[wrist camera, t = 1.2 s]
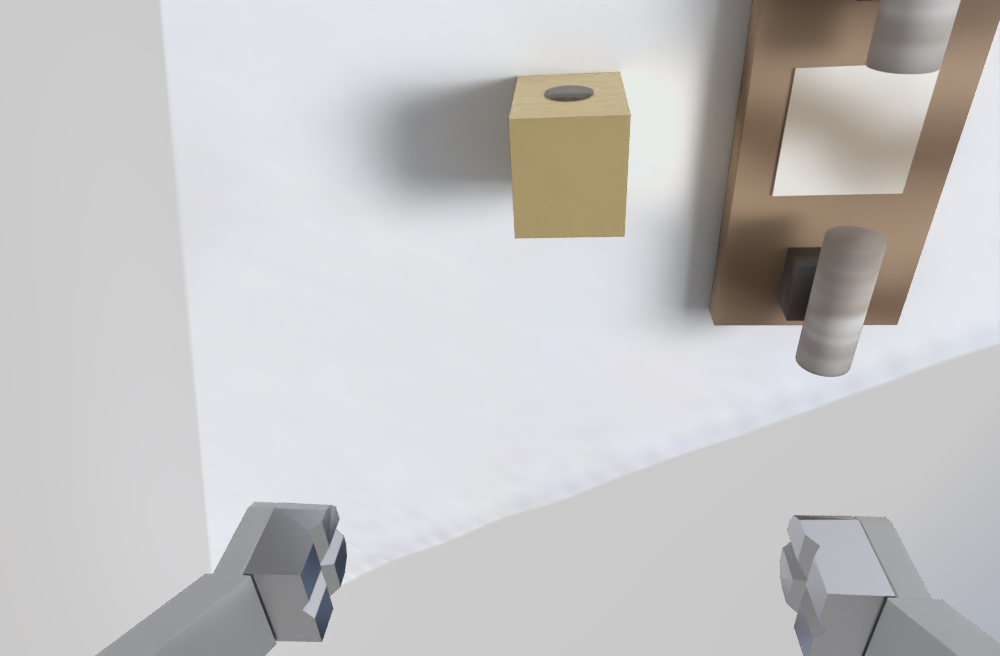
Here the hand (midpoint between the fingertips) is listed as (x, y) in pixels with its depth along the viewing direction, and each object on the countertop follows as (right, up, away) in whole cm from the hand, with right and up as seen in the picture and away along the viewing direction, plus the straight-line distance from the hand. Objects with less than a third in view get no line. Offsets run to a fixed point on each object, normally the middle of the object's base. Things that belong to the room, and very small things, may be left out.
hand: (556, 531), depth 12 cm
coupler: (+2, +13, +19) cm, 23 cm away
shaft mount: (+14, +13, +18) cm, 26 cm away
